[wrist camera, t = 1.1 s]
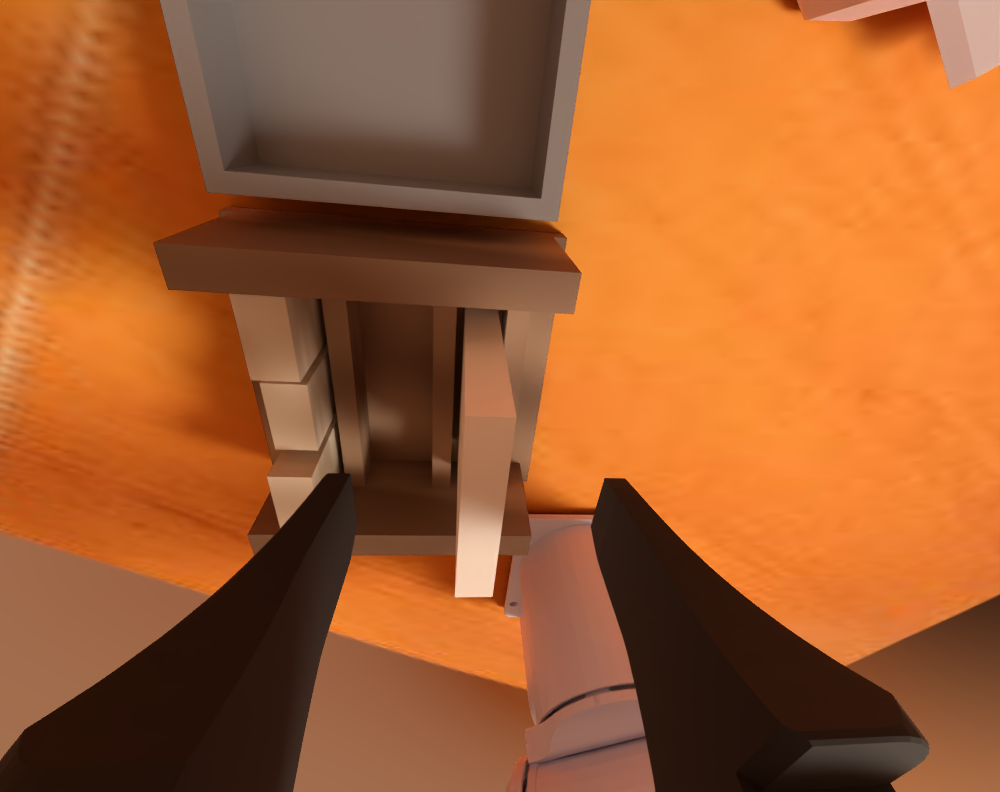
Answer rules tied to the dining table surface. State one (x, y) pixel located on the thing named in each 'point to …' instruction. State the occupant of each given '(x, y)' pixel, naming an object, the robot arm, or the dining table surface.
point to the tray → (383, 100)
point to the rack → (395, 348)
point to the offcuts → (292, 391)
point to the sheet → (482, 452)
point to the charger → (957, 25)
